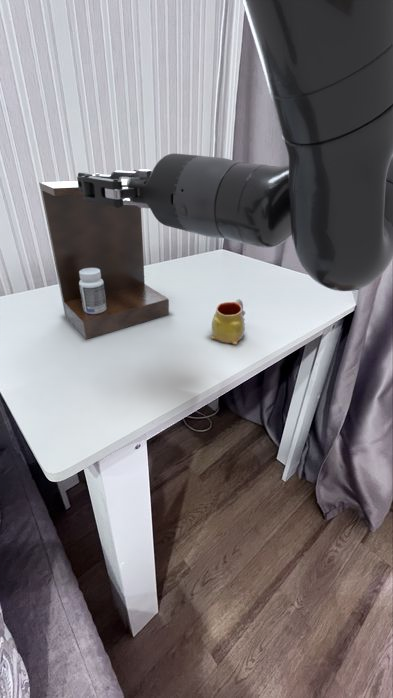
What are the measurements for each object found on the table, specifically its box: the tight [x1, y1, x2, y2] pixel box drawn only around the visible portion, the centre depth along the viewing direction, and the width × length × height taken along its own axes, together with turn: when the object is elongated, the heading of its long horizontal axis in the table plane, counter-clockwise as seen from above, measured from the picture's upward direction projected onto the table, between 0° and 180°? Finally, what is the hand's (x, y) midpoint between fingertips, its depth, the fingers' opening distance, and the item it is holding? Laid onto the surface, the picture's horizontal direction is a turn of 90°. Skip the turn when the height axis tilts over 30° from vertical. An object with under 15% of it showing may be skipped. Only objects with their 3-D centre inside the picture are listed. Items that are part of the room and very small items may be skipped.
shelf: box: [39, 178, 170, 340], centre depth 69 cm, size 20×12×27 cm, turn 127°
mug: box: [210, 299, 246, 345], centre depth 70 cm, size 12×7×7 cm, turn 152°
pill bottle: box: [79, 268, 107, 314], centre depth 67 cm, size 5×5×8 cm
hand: (109, 180), depth 44 cm, fingers open, 8 cm apart
